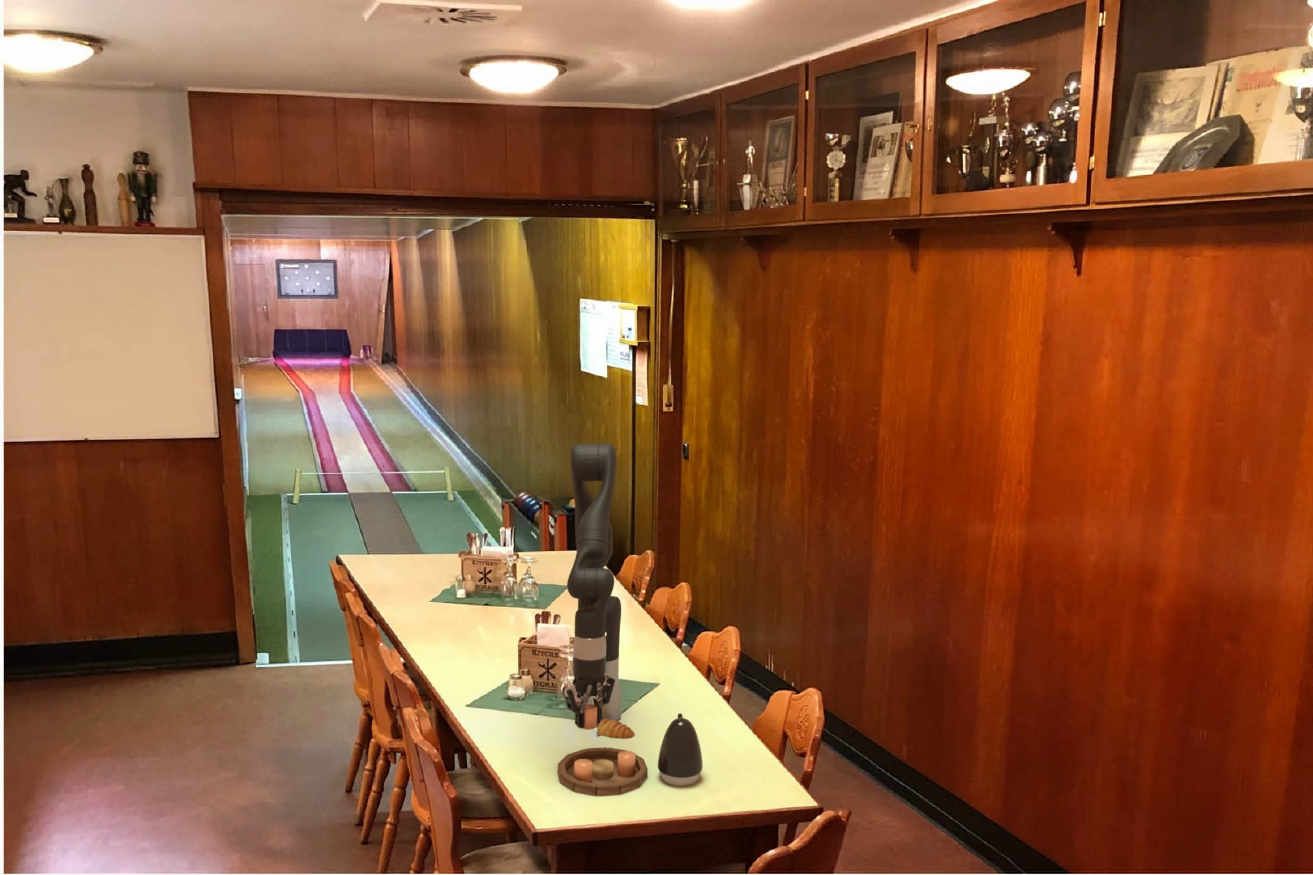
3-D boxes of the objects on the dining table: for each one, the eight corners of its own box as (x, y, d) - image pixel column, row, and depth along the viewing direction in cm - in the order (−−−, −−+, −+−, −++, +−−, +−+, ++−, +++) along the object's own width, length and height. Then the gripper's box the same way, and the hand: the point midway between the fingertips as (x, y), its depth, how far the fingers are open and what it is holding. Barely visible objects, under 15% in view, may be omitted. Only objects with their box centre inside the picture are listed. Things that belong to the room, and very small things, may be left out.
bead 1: (589, 721, 242) (590, 702, 241) (600, 726, 239) (600, 707, 238) (576, 725, 239) (576, 706, 238) (586, 730, 236) (586, 711, 235)
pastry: (639, 736, 260) (639, 722, 260) (626, 746, 254) (626, 732, 254) (607, 728, 264) (607, 714, 264) (593, 738, 259) (593, 723, 258)
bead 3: (627, 767, 240) (628, 749, 239) (638, 773, 237) (638, 755, 236) (614, 772, 237) (614, 753, 237) (624, 778, 234) (625, 759, 234)
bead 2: (584, 776, 235) (585, 757, 235) (595, 782, 232) (595, 763, 232) (570, 781, 232) (570, 761, 232) (581, 787, 229) (581, 768, 229)
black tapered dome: (700, 771, 241) (702, 709, 239) (703, 792, 231) (705, 727, 229) (656, 771, 240) (658, 709, 238) (658, 792, 230) (659, 727, 228)
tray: (609, 752, 250) (610, 738, 250) (664, 782, 235) (664, 767, 235) (541, 775, 237) (541, 760, 237) (593, 808, 222) (594, 793, 222)
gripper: (574, 664, 229) (572, 738, 231) (624, 651, 238) (622, 722, 240) (554, 654, 235) (553, 727, 237) (604, 643, 244) (602, 712, 246)
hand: (588, 724), depth 239 cm, fingers closed on bead 1, 4 cm apart
